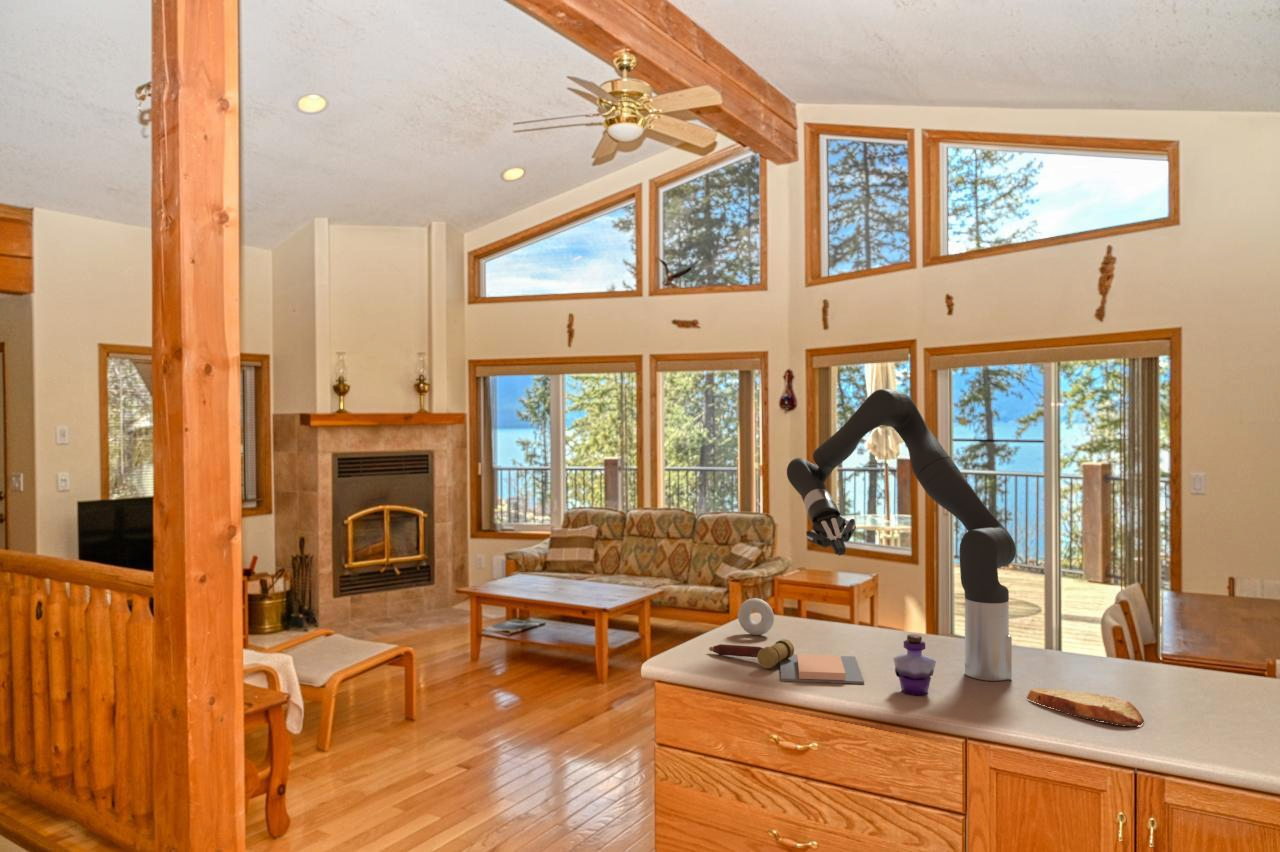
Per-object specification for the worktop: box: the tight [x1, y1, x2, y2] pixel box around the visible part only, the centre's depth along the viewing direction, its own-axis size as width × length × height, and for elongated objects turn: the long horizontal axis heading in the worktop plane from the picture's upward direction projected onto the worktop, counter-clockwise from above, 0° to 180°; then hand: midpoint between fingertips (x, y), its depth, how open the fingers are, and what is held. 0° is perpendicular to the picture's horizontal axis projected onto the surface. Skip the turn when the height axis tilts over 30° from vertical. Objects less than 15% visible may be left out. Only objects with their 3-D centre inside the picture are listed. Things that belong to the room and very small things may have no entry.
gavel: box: [708, 638, 795, 669], centre depth 208 cm, size 21×5×10 cm
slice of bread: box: [1026, 688, 1145, 726], centre depth 170 cm, size 18×18×4 cm
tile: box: [796, 653, 846, 680], centre depth 196 cm, size 10×2×14 cm
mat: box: [779, 653, 865, 685], centre depth 199 cm, size 18×20×1 cm
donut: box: [737, 597, 775, 636], centre depth 231 cm, size 10×4×10 cm, turn 65°
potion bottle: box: [892, 634, 937, 697], centre depth 183 cm, size 9×9×12 cm
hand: (841, 552), depth 207 cm, fingers closed
